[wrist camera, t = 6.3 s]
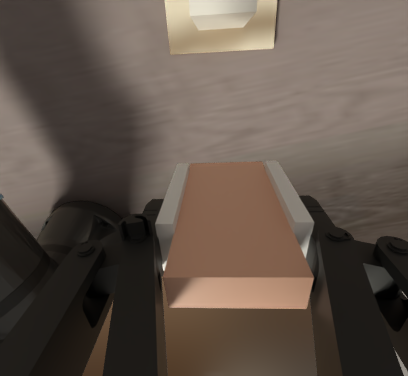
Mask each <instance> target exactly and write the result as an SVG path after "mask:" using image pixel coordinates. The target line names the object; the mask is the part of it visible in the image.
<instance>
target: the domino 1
mask: <svg viewBox="0 0 408 376" xmlns="http://www.w3.org/2000/svg"><path fill="white" fill-rule="evenodd" d="M189 11H190V17H191V19H192V20H193V22H194V24H195V25H196V27H197V28H198V30H212V29H227V28H242V27H244V26H245V25H246V24H247V22H248V21H249V20H250V19H251V18H252V16H253V15H254V14H255V13H256V12H257V0H189Z"/></svg>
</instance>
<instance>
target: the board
mask: <svg viewBox="0 0 408 376" xmlns="http://www.w3.org/2000/svg"><path fill="white" fill-rule="evenodd" d="M165 8H166V18H167V27H168V37H169V47H170V55H175V54H192V53H208V52H225V51H242V50H259V49H273V48H274V36H275V23H276V10H277V0H257V12H256V13H255V14H254V15H253V16H252V18H251V19H250V20H249V21H248V22H247V24H246V25H245V26H244V27H242V28H227V29H212V30H198V28H197V27H196V25H195V24H194V22H193V20H192V19H191V17H190V11H189V0H165Z"/></svg>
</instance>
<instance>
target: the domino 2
mask: <svg viewBox="0 0 408 376" xmlns="http://www.w3.org/2000/svg"><path fill="white" fill-rule="evenodd" d="M163 280H164V285H165V290H166V296H167V301H168V306H169V307H171V308H172V307H174V308H175V307H177V308H180V307H181V308H281V309H282V308H283V309H284V308H286V309H289V308H290V309H306V308H307V305H308V300H309V296H310V292H311V288H312V284H313V280H314V276H313V274H312V272H311V270H310V267H309V265H308V263H307V261H306V258H305V256H304V254H303V252H302V250H301V247H300V245H299V243H298V241H297V238H296V236H295V234H294V233H293V231H292V229H291V227H290V225H289V222H288V220H287V218H286V216H285V213H284V211H283V209H282V207H281V204H280V202H279V200H278V198H277V195H276V193H275V191H274V189H273V186H272V184H271V182H270V180H269V177H268V175H267V173H266V171H265V167H264V165H263V163H262V162H229V163H195V164H190V169H189V175H188V179H187V183H186V187H185V192H184V196H183V200H182V204H181V208H180V213H179V217H178V221H177V225H176V229H175V234H173V238H172V242H171V247H170V251H169V255H168V259H167V263H166V267H165V271H164V275H163Z"/></svg>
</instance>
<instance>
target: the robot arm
mask: <svg viewBox="0 0 408 376" xmlns="http://www.w3.org/2000/svg"><path fill="white" fill-rule="evenodd" d="M265 171H266V173H267V175H268V177H269V180H270V182H271V184H272V186H273V189H274V191H275V193H276V195H277V198H278V200H279V202H280V204H281V207H282V209H283V211H284V213H285V216H286V218H287V220H288V222H289V225H290V227H291V229H292V231H293V233H294V234H295V236H296V238H297V241H298V243H299V245H300V247H301V250H302V252H303V254H304V256H305V258H306V261H307V263H308V265H309V267H310V270H311V272H312V274H313V276H314V280H313V284H312V288H311V292H310V303H311V314H312V325H313V334H314V345H315V356H316V367H317V376H404V375H403V372H402V370H401V367H400V364H399V362H398V359H397V356H396V353H395V351H396V352H397V354H398V356H399V357H400V359H401V361H402V362H403V364H404V366H405V367H406V369H407V371H408V299H407V298H408V242H407V241H405V240H403V239H400V238H397V237H391V236H384V237H380V238H379V239H377V242H376V245H375V244H370V243H365V242H360V241H356V240H354V238H353V237H352V235H351V234H350V233H348V232H347V231H346V230H343V229H341V228H338V227H335V225H334V224H333V223H332V221H331V220H330V218H329V217H328V216H327V214H326V213H325V212H324V210H323V209H322V207H321V206H320V204H319V203H318V201H317V200H315V199H314V198H312V197H311V196H298V194H297V193H296V191H295V189H294V188H293V186H292V184H291V183H290V181H289V179H288V178H287V176H286V174H285V173H284V171H283V169H282V168H281V166H280V164H279V163H278V161H265ZM188 175H189V163H183V164H177V166H176V169H175V172H174V174H173V177H172V180H171V182H170V185H169V188H168V190H167V193H166V196H165V199H152V200H151V201H150V202H149V203H148V204H147V205H146V207H145V209H144V211H143V213H142V214H133V215H129V216H127V217H125V218H123V219H122V218H121V217H119V216H118V215H117V214H116V213H114V212H113V211H111V210H110V209H108V208H106V207H104V206H102V205H99V204H96V203H92V202H86V201H75V202H69V203H66V204H64V205H62V206H60V207H59V208H57V209H56V210H55V211H54V212H53V213H52V214H51V215H50V216H49V217H48V218H47V219H46V221H45V222H44V224H43V227H42V231H41V233H40V234H39V236H38V238H37V240H36V239H35V238H34V237H33V236H32V234H31V233H30V232H29V231H28V230H27V229H26V227H25V226H24V225H23V224H22V223H21V221H20V220H19V219H18V218H17V217H16V215H15V214H14V213H13V212H12V211H11V209H10V208H9V207H8V206H7V204H6V203H5V202H4V201H3V199H2V198H4V197H3V195H2V194H0V376H82V374H83V372H84V370H85V367H86V364H87V362H88V360H89V358H90V355H91V353H92V350H93V348H94V345H95V343H96V341H97V338H98V336H99V333H100V331H101V328H102V326H103V324H104V321H105V319H106V316H107V314H108V312H109V309H110V307H111V304H112V302H113V308H112V315H111V321H110V328H109V336H108V343H107V349H106V356H105V363H104V370H103V376H168V373H167V358H166V357H167V356H166V342H165V325H164V309H163V293H162V278H161V273H160V269H161V265H163V270H164V271H165V267H166V263H167V259H168V255H169V251H170V247H171V242H172V238H173V234H175V229H176V225H177V221H178V217H179V213H180V208H181V204H182V200H183V196H184V192H185V187H186V183H187V179H188ZM402 291H403V292H404V294H405V295H406V296H407V298H406V297H405V296H404V295H403V293H402ZM113 300H114V301H113ZM393 347H394V348H393ZM394 349H395V350H394Z"/></svg>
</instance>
